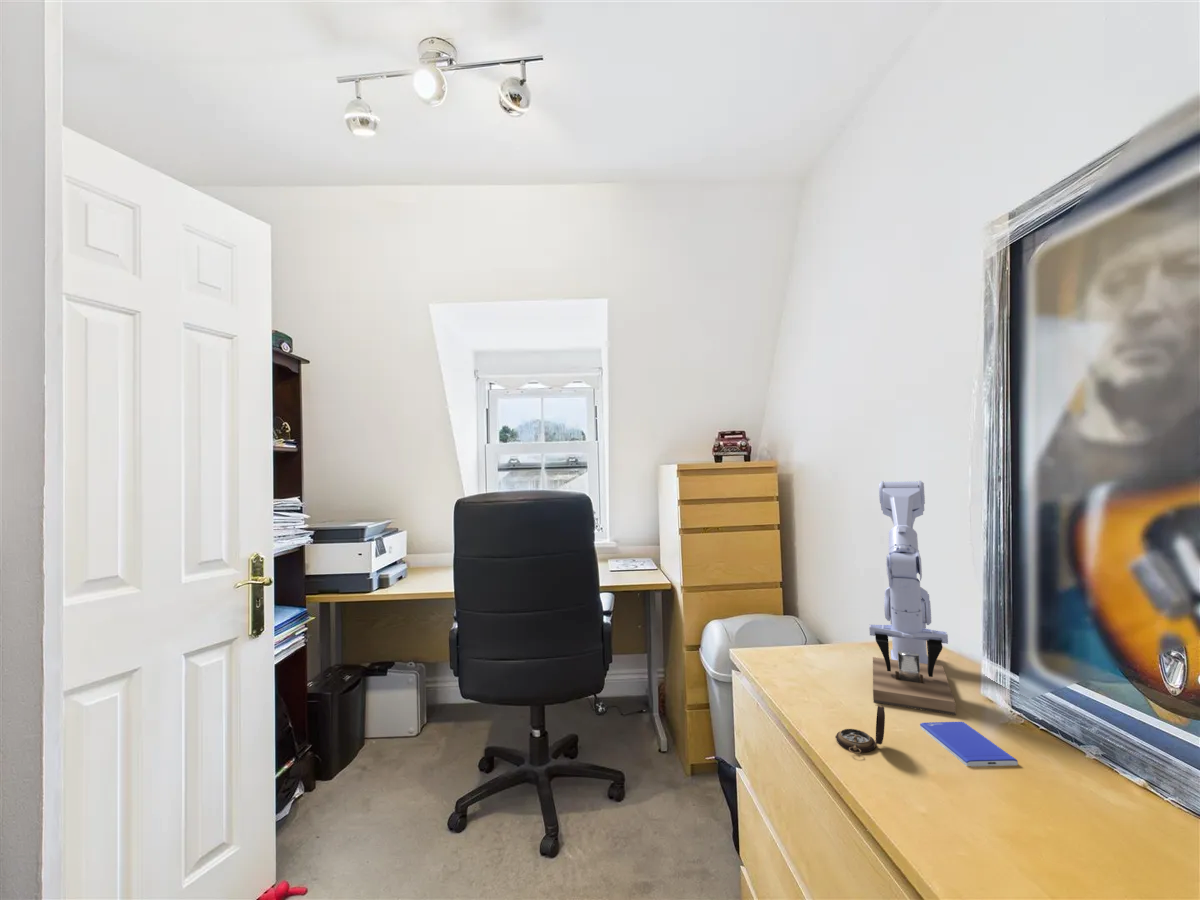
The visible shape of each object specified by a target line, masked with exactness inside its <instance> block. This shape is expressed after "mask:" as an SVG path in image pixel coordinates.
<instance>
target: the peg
mask: <svg viewBox="0 0 1200 900" xmlns="http://www.w3.org/2000/svg"><path fill="white" fill-rule="evenodd" d="M898 667H899V680H902V681H909V682H916V683H921V679H920V660H919V654H918V653H916V652H912V651H905V650H902V651H898Z"/></svg>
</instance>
